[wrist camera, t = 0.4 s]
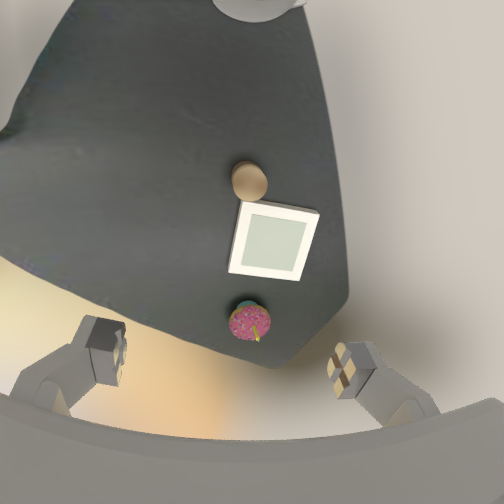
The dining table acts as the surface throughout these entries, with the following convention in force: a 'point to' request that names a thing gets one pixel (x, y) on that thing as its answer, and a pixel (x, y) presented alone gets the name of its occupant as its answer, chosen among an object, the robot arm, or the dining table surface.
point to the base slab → (272, 239)
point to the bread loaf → (248, 181)
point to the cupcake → (249, 321)
